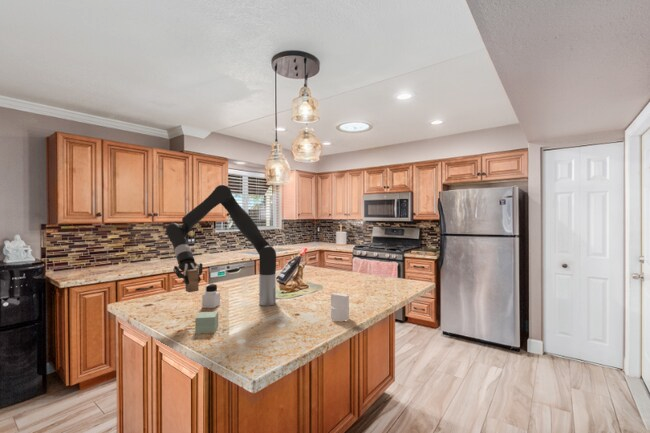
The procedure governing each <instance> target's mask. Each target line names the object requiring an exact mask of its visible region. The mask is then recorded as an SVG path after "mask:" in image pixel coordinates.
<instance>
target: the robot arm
mask: <svg viewBox="0 0 650 433" xmlns="http://www.w3.org/2000/svg"><path fill="white" fill-rule="evenodd" d="M231 190H232V189H231V188H230V187H229V186H228V185H226V184H220V185H217V186H216V187H215V189H214V190H212V192H211V193H210V194H209V195H208V197H206V198H205V199H204V200H203V201H201V203H199V204H198V205H197V206H195V207H194V208H193V209H192V210H190V211H189V212H188V213H187V214H185V215H184V216H182V219H181V221H182V223H183V224H182V225H181V226H180V225H179V224H178V223H176V222H170V223H169V224H168V225H167V226H166V228H165V232H166V235H167V237H168V239H169V240H170V242H171V243H172V247H173V251H174V254H175V258H176V261H177V264H178V265H177V266H176V265H175V266H174V267H173V270H172V271H173V272H174V274H175V275H176V276H177V278H178V279H183V281H184V284H187V285H188V284H189V280H188V277H187V276H186V275H187V274H186V270H190V269H197V270H198V283H201V281H202V280H201V279H202V278H201V277H202V276H201V275H202V274H203V263H201V262H200V263H197V262H196V261H195V257H194V255H193V252H192V250H191V247H190V245H189V243H188V241H187V240H188V239H187V238H186V237H187V236H188V235H189V232H191V230H192V228H193V227H194V226H196V225H197V224H198V223H199V222H200V221H201V220H202V219H204V218H205V217H206V216H207V215H208V214H209V213H210V212H211V211H212V210H213V209H214V208H215V207H218V206H219V205H222V206H223V208H224V209H225V211H226V212H227V213H228V214H229V216H230V218H231V220H232V221H233V223H234V225H235V226H236V227H237V229H238V231H240V233H241V234H242V235H243V236H244V238H246V240H248V241H249V242H250V243H251V244H252V246H253V247H254V248H255V251H256V252H257V254H258V256H259V259H258V260H259V261H258V262H259V266H258V267H259V268H258V270H259V272H258V274H259V275H258V278H259V279H258V280H259V283H258V285H259V286H258V287H259V290H258V291H259V292H258V293H259V294H258V295H259V296H258V297H259V298H258V300H259V301H258V304H259V306H262V307H267V306H269V307H271V306H274V305H275V306H276V303H277V302H276V300H277V296H276V294H277V292H276V291H277V290H276V288H277V287H276V286H277V284H276V276H277V275H276V274H277V272H276V270H277V251H276V249H275V248H274V247H273V246H271V244H270V243H269V242H268V241H267V240H266V239H265V237H264V236H263V235H262V233H261V231H260V229H259V227H258V226H257V224H256V223H255V221H254V220H253V218H252V217H251V216H250V215H249V213H248V212H247V211H246V210H244V208H242V206H241V205H240V204H239V203H238V201H237V200H236V198H235V196H234V195H233V193H232V191H231ZM181 271H182V272H181Z"/></svg>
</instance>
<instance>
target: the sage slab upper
mask: <svg viewBox="0 0 650 433" xmlns="http://www.w3.org/2000/svg"><path fill="white" fill-rule="evenodd" d="M197 314H198V315H196V317H195V321H194V322H195V326H209V325H215V324H216V322H217V320H218V321H219V311H203V312H202V311H201V312H199V313H197ZM195 326H194V327H195Z"/></svg>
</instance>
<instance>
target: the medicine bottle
mask: <svg viewBox="0 0 650 433" xmlns="http://www.w3.org/2000/svg"><path fill="white" fill-rule="evenodd" d="M201 299H202V300H201V307H202V308H203V309H216V308H217V307H218V306H220V304H221V292H220V291H218V285H217V284H216V283H215V284H214V283H210V284H206V285H205V293H203V294H202V297H201Z"/></svg>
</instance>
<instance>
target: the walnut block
mask: <svg viewBox="0 0 650 433" xmlns="http://www.w3.org/2000/svg"><path fill="white" fill-rule="evenodd" d="M198 272H199V269H198V268H196V269H190V270H186V274H187V275H186V276H187V277H188V280H189V284H188V285H187V284H185V283H184V284H185V285H184V286H185V291H186V292H187V293H194V292H199V287H200V286H199V285H200V284H199V283H200V282H199V283H198Z"/></svg>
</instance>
